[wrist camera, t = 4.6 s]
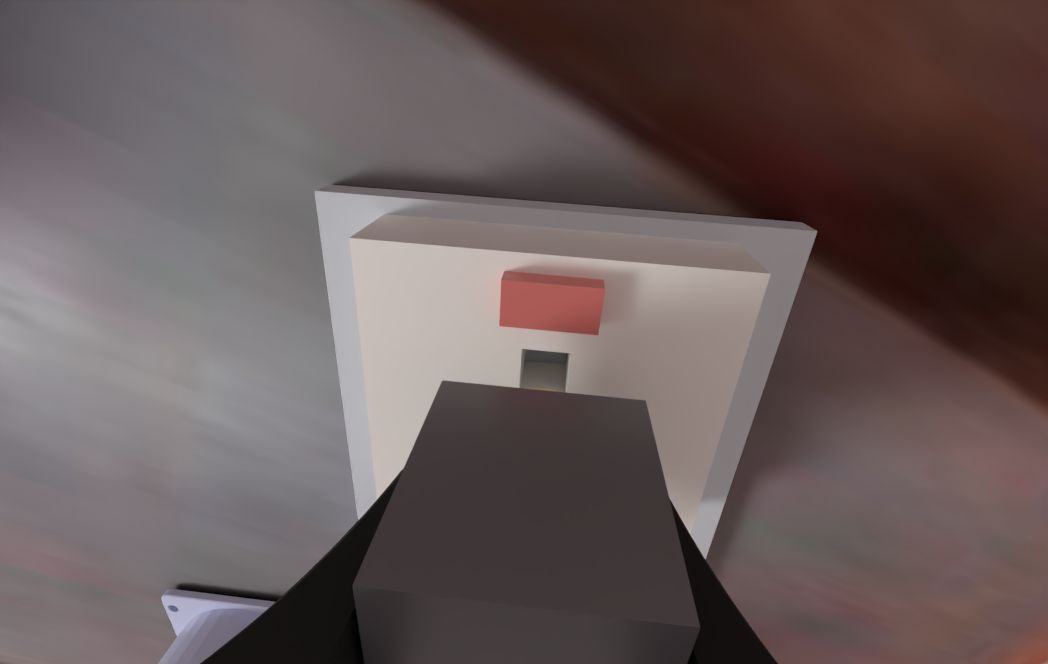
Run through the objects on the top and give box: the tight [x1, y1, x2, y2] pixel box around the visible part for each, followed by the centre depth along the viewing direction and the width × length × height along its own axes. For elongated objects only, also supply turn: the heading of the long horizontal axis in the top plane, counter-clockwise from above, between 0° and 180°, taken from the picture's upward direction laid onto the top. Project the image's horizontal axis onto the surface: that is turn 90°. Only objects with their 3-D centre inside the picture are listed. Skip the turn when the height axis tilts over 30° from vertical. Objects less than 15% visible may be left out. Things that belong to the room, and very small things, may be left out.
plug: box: [352, 380, 700, 664], centre depth 11 cm, size 4×7×6 cm, turn 177°
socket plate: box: [349, 214, 771, 534], centre depth 15 cm, size 10×10×3 cm
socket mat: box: [315, 185, 817, 560], centre depth 18 cm, size 19×14×1 cm
